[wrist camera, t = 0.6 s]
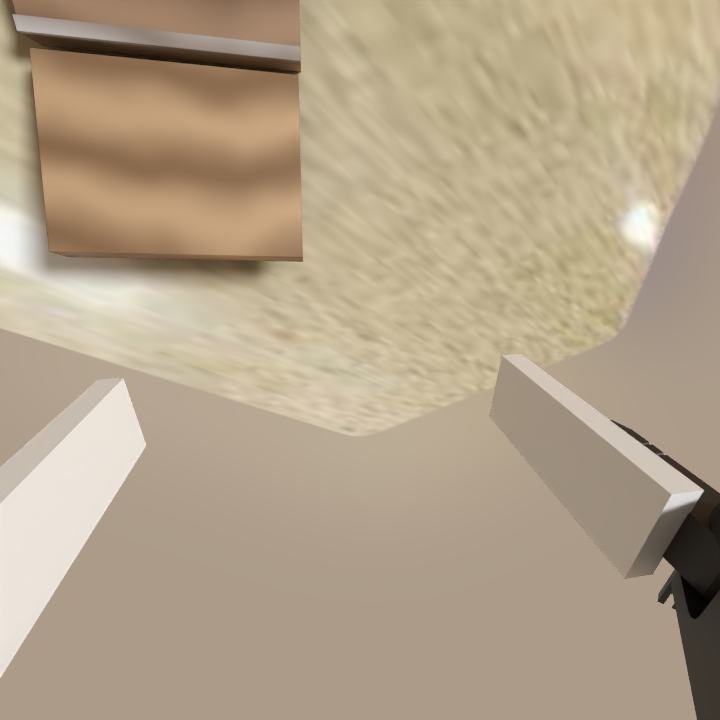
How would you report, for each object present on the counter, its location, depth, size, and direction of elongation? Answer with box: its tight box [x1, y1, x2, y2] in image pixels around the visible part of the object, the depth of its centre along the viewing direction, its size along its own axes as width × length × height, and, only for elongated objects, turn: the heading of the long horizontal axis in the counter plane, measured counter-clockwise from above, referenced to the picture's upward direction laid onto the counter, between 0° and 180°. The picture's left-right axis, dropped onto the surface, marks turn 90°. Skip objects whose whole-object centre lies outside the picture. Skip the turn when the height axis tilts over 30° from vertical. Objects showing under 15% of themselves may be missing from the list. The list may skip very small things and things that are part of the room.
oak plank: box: [30, 48, 303, 262], centre depth 26 cm, size 13×18×2 cm
